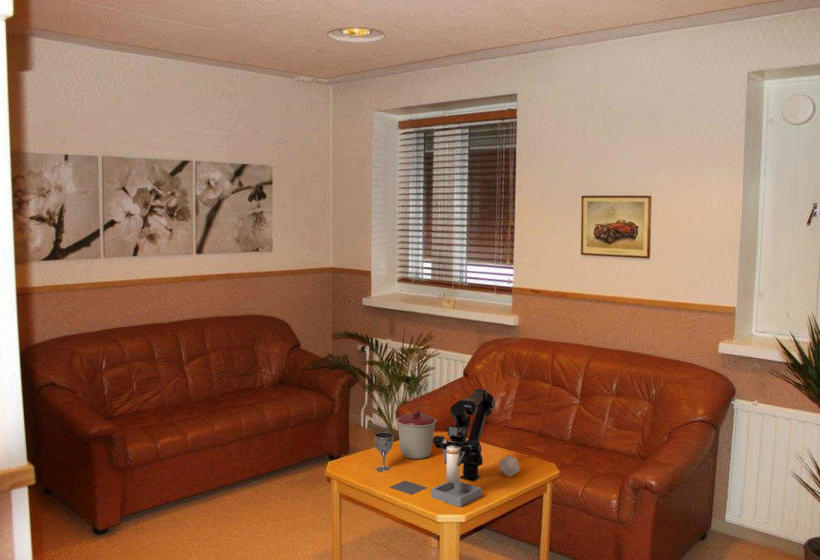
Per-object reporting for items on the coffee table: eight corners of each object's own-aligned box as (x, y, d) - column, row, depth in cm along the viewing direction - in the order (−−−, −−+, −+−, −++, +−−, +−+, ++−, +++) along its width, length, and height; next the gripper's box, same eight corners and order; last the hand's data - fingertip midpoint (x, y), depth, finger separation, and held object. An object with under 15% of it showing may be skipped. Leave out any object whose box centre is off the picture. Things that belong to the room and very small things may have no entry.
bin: (452, 487, 293) (452, 479, 293) (481, 496, 284) (481, 487, 284) (430, 497, 282) (431, 489, 282) (460, 507, 274) (460, 498, 273)
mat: (404, 481, 300) (404, 480, 300) (427, 488, 292) (427, 487, 292) (388, 487, 292) (388, 487, 292) (412, 495, 285) (412, 494, 285)
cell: (445, 478, 285) (445, 444, 284) (458, 477, 286) (459, 443, 284) (446, 482, 280) (447, 448, 279) (460, 482, 281) (460, 448, 279)
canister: (387, 454, 333) (388, 409, 331) (417, 446, 345) (417, 402, 343) (414, 465, 319) (415, 417, 318) (444, 456, 332) (444, 410, 330)
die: (523, 478, 307) (521, 455, 312) (513, 472, 301) (512, 450, 306) (506, 481, 311) (504, 459, 316) (496, 476, 305) (495, 453, 310)
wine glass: (389, 473, 309) (389, 438, 308) (371, 471, 311) (372, 436, 310) (395, 467, 316) (396, 433, 315) (378, 465, 319) (378, 431, 318)
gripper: (434, 415, 288) (423, 451, 279) (480, 421, 281) (470, 457, 272) (441, 429, 296) (431, 464, 287) (485, 435, 289) (476, 471, 280)
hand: (451, 464), depth 281 cm, fingers closed on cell, 5 cm apart
